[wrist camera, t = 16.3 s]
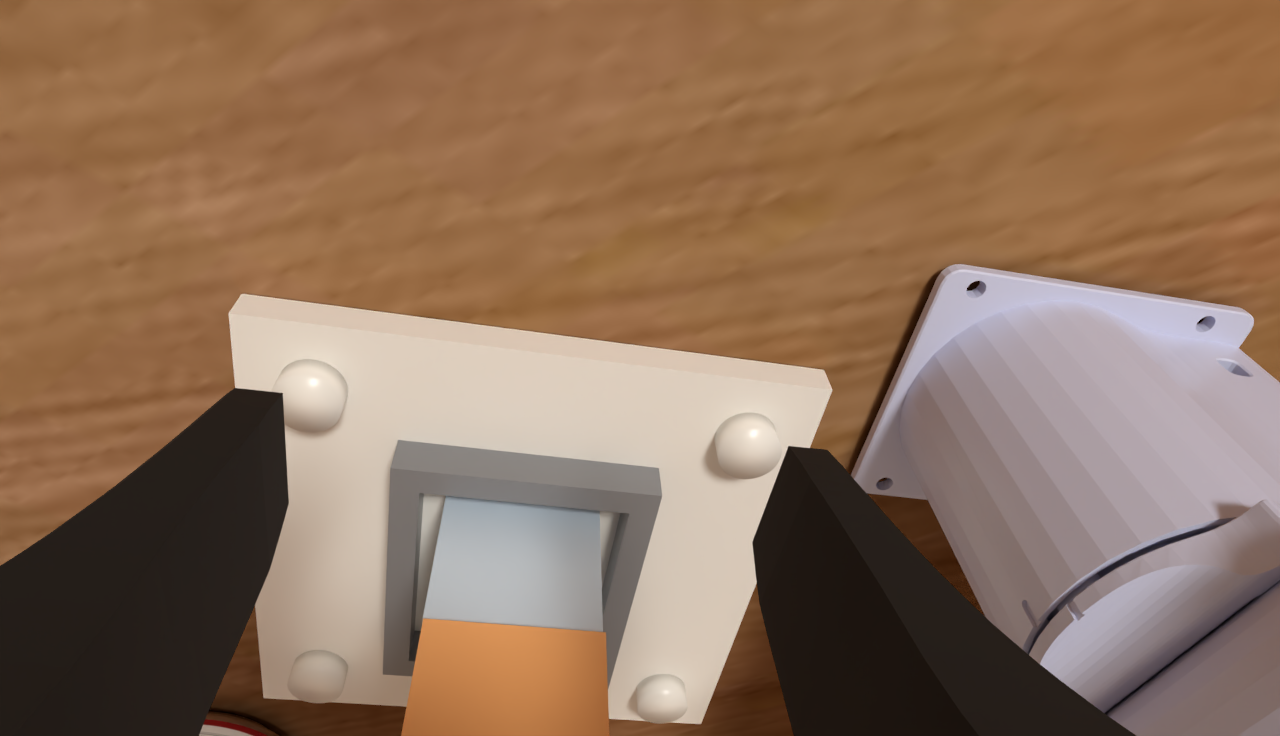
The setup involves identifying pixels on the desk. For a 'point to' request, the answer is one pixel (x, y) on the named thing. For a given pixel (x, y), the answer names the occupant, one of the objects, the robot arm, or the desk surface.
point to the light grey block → (517, 565)
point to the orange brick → (507, 681)
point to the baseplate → (510, 487)
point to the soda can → (232, 726)
